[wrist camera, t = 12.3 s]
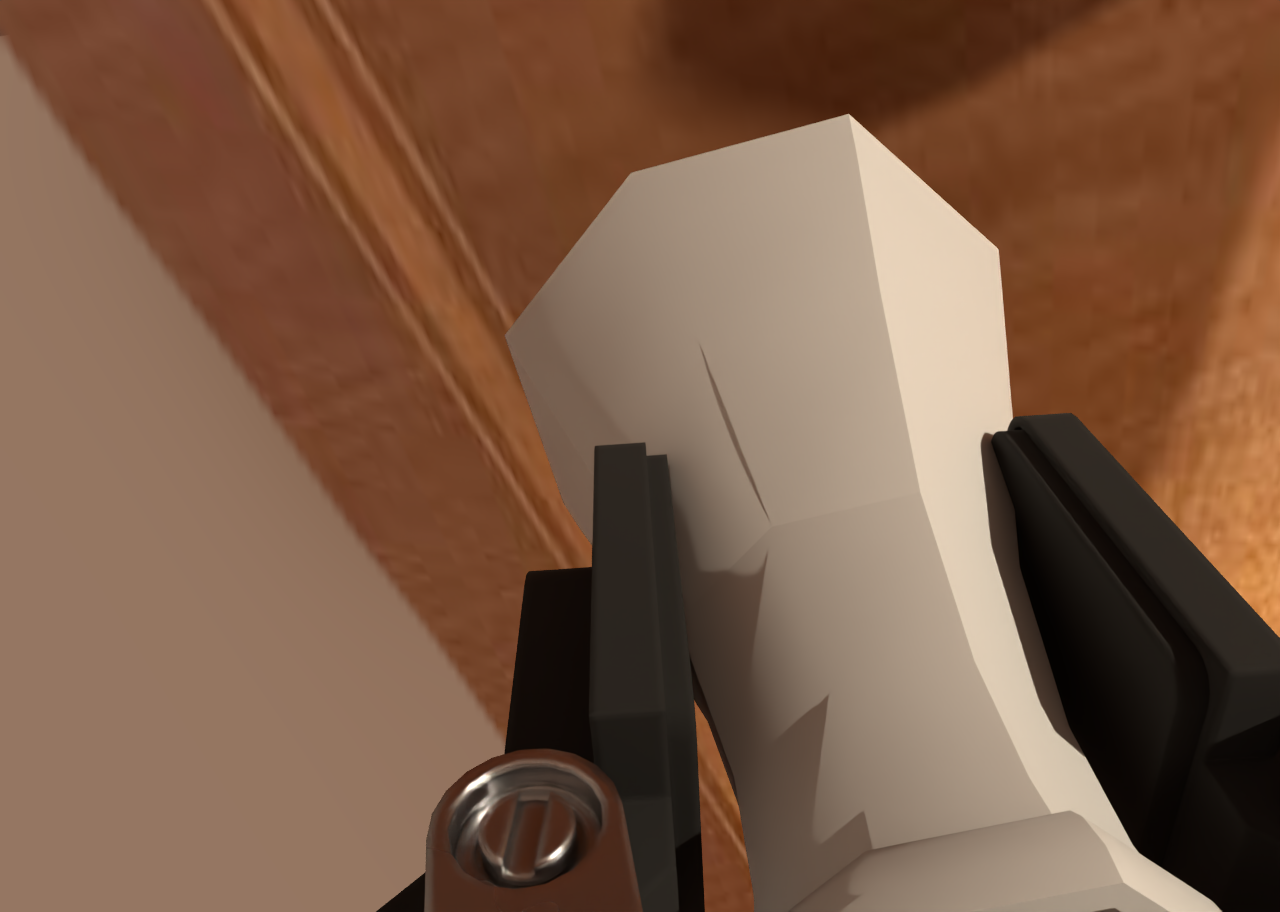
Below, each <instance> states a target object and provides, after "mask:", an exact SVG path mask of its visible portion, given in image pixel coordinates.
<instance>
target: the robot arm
mask: <svg viewBox="0 0 1280 912" xmlns="http://www.w3.org/2000/svg"><path fill="white" fill-rule="evenodd" d="M991 443H992V446H993V449H994V452H995V455H996V458H997V461H998V463H999V466H1000V469H1001V472H1002V475H1003V478H1004V480H1005V483H1006V486H1007V489H1008V492H1009V495H1010V498H1011V500H1012V503H1013V506H1014V509H1015V518H1016V530H1017V541H1018V552H1019V563H1020V569H1021V573H1022V576H1023V579H1024V582H1025V586H1026V589H1027V592H1028V595H1029V599H1030V602H1031V605H1032V608H1033V612H1034V615H1035V618H1036V621H1037V624H1038V628H1039V631H1040V634H1041V637H1042V641H1043V644H1044V647H1045V650H1046V654H1047V657H1048V660H1049V663H1050V667H1051V670H1052V673H1053V676H1054V680H1055V683H1056V686H1057V689H1058V692H1059V696H1060V699H1061V702H1062V705H1063V709H1064V712H1065V715H1066V718H1067V722H1068V725H1069V728H1070V729H1071V731H1072V733H1073V735H1074V737H1075V739H1076V741H1077V742H1078V744H1079V746H1080V748H1081V750H1082V752H1083V754H1084V755H1085V757H1086V759H1087V761H1088V763H1089V765H1090V767H1091V768H1092V770H1093V772H1094V774H1095V776H1096V778H1097V779H1098V781H1099V783H1100V785H1101V787H1102V789H1103V791H1104V792H1105V794H1106V796H1107V798H1108V800H1109V802H1110V804H1111V805H1112V807H1113V809H1114V811H1115V813H1116V815H1117V817H1118V818H1119V820H1120V822H1121V824H1122V826H1123V828H1124V830H1125V831H1126V833H1127V835H1128V837H1129V839H1130V841H1131V843H1132V844H1133V846H1134V847H1135V849H1136V850H1137V851H1138V853H1139V854H1141V855H1143V856H1144V857H1146V858H1147V859H1149V860H1150V861H1152V862H1153V863H1155V864H1156V865H1158V866H1159V867H1161V868H1163V869H1164V870H1166V871H1167V872H1169V873H1170V874H1172V875H1173V876H1175V877H1176V878H1178V879H1179V880H1181V881H1182V882H1184V883H1186V884H1187V885H1189V886H1190V887H1192V888H1193V889H1195V890H1196V891H1198V892H1199V893H1201V894H1202V895H1204V896H1205V897H1207V898H1209V899H1210V900H1212V901H1213V902H1214V903H1215V904H1216V905H1217V906H1218V907H1219V908H1220V909H1221V911H1222V912H1280V638H1279V637H1278V636H1277V635H1276V634H1275V632H1274V631H1273V630H1272V629H1271V628H1270V627H1269V626H1268V625H1267V624H1266V623H1265V622H1264V621H1263V619H1262V618H1261V617H1260V616H1259V615H1258V614H1257V613H1256V612H1255V611H1254V610H1253V609H1252V607H1251V606H1250V605H1249V604H1248V603H1247V602H1246V601H1245V600H1244V599H1243V598H1242V597H1241V595H1240V594H1239V593H1238V592H1237V591H1236V590H1235V589H1234V588H1233V587H1232V586H1231V585H1230V583H1229V582H1228V581H1227V580H1226V579H1225V578H1224V577H1223V576H1222V575H1221V574H1220V573H1219V572H1218V570H1217V569H1216V568H1215V567H1214V566H1213V565H1212V564H1211V563H1210V562H1209V561H1208V560H1207V558H1206V557H1205V556H1204V555H1203V554H1202V553H1201V552H1200V551H1199V550H1198V549H1197V548H1196V546H1195V545H1194V544H1193V543H1192V542H1191V541H1190V540H1189V539H1188V538H1187V537H1186V536H1185V534H1184V533H1183V532H1182V531H1181V530H1180V529H1179V528H1178V527H1177V526H1176V525H1175V524H1174V522H1173V521H1172V520H1171V519H1170V518H1169V517H1168V516H1167V515H1166V514H1165V513H1164V512H1163V511H1162V509H1161V508H1160V507H1159V506H1158V505H1157V504H1156V503H1155V502H1154V501H1153V500H1152V499H1151V497H1150V496H1149V495H1148V494H1147V493H1146V492H1145V491H1144V490H1143V489H1142V488H1141V487H1140V485H1139V484H1138V483H1137V482H1136V481H1135V480H1134V479H1133V478H1132V477H1131V476H1130V475H1129V473H1128V472H1127V471H1126V470H1125V469H1124V468H1123V467H1122V466H1121V465H1120V464H1119V463H1118V462H1117V460H1116V459H1115V458H1114V457H1113V456H1112V455H1111V454H1110V453H1109V452H1108V451H1107V450H1106V448H1105V447H1104V446H1103V445H1102V444H1101V443H1100V442H1099V441H1098V440H1097V439H1096V438H1095V436H1094V435H1093V434H1092V433H1091V432H1090V431H1089V430H1088V429H1087V428H1086V427H1085V426H1084V424H1083V423H1082V422H1081V421H1080V420H1079V419H1078V418H1077V417H1076V416H1074V415H1073V414H1072V413H1063V414H1048V415H1034V416H1019V417H1015V418H1013V419H1012V420H1011V422H1010V424H1009V426H1008V429H1007V431H997V432H996V433H995V434H994V435H993V437H992V440H991ZM376 912H705V908H704V886H703V865H702V843H701V822H700V800H699V779H698V757H697V737H696V721H695V707H694V696H693V685H692V676H691V667H690V658H689V649H688V640H687V631H686V622H685V613H684V604H683V595H682V586H681V577H680V568H679V559H678V550H677V541H676V532H675V523H674V515H673V506H672V497H671V488H670V479H669V470H668V461H667V454H663V455H649V456H646V443H645V442H642V443H628V444H613V445H599V446H595V448H594V491H593V540H592V567H587V568H572V569H558V570H543V571H529V572H528V573H527V575H526V580H525V586H524V594H523V603H522V611H521V619H520V628H519V636H518V644H517V653H516V661H515V670H514V678H513V686H512V695H511V703H510V712H509V720H508V728H507V737H506V745H505V754H504V755H501V756H497V757H494V758H491V759H489V760H487V761H486V762H484V763H482V764H480V765H478V766H476V767H475V768H473V769H471V770H469V771H467V772H466V773H465V774H464V775H463V776H462V777H461V778H460V779H458V781H457V782H455V783H454V784H453V785H452V786H451V787H450V788H449V789H448V790H447V791H446V792H445V794H444V795H443V797H442V799H441V800H440V802H439V803H438V805H437V807H436V808H435V810H434V812H433V813H432V816H431V821H430V825H429V830H428V834H427V840H426V872H425V873H424V874H423V875H422V876H420V877H419V878H418V879H417V880H415V881H414V882H413V883H412V884H410V885H409V886H408V887H406V888H405V889H404V890H403V891H401V892H400V893H399V894H398V895H396V896H395V897H394V898H393V899H391V900H390V901H389V902H388V903H386V904H385V905H384V906H383V907H381V908H380V909H379V910H378V911H376Z"/></svg>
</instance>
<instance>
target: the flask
mask: <svg viewBox="0 0 1280 912" xmlns="http://www.w3.org/2000/svg"><path fill="white" fill-rule="evenodd" d="M505 338H506V341H507V344H508V346H509V349H510V352H511V355H512V358H513V361H514V363H515V366H516V369H517V372H518V375H519V378H520V381H521V383H522V386H523V389H524V392H525V395H526V398H527V400H528V403H529V406H530V409H531V412H532V415H533V417H534V420H535V423H536V426H537V429H538V432H539V434H540V437H541V440H542V443H543V446H544V449H545V452H546V454H547V457H548V460H549V463H550V466H551V469H552V471H553V474H554V477H555V480H556V483H557V486H558V488H559V491H560V494H561V497H562V500H563V503H564V504H565V506H566V507H567V509H568V511H569V512H570V514H571V515H572V517H573V519H574V520H575V522H576V523H577V525H578V526H579V528H580V529H581V531H582V532H583V533H584V535H585V536H586V538H587V539H588V540H589V542H590V543H591V544H592V540H593V491H594V448H595V446H599V445H613V444H628V443H642V442H645V443H646V456H649V455H663V454H667V461H668V470H669V479H670V488H671V497H672V506H673V515H674V523H675V532H676V541H677V550H678V559H679V568H680V577H681V586H682V595H683V604H684V613H685V622H686V631H687V640H688V649H689V658H690V667H691V676H692V685H693V696H694V700H695V702H696V703H697V705H698V707H699V708H700V710H701V711H702V713H703V715H704V716H705V718H706V719H707V721H708V723H709V726H710V729H711V731H712V734H713V737H714V740H715V742H716V745H717V748H718V750H719V753H720V756H721V759H722V761H723V764H724V767H725V769H726V772H727V775H728V778H729V780H730V783H731V786H732V789H733V791H734V794H735V797H736V799H737V802H738V805H739V809H740V815H741V821H742V827H743V833H744V839H745V845H746V851H747V857H748V863H749V869H750V875H751V881H752V887H753V893H754V912H1222V911H1221V909H1220V908H1219V907H1218V906H1217V905H1216V904H1215V903H1214V902H1213V901H1212V900H1210V899H1209V898H1207V897H1205V896H1204V895H1202V894H1201V893H1199V892H1198V891H1196V890H1195V889H1193V888H1192V887H1190V886H1189V885H1187V884H1186V883H1184V882H1182V881H1181V880H1179V879H1178V878H1176V877H1175V876H1173V875H1172V874H1170V873H1169V872H1167V871H1166V870H1164V869H1163V868H1161V867H1159V866H1158V865H1156V864H1155V863H1153V862H1152V861H1150V860H1149V859H1147V858H1146V857H1144V856H1143V855H1141V854H1139V853H1138V851H1137V850H1136V849H1135V847H1134V846H1133V844H1132V843H1131V841H1130V839H1129V837H1128V835H1127V833H1126V831H1125V830H1124V828H1123V826H1122V824H1121V822H1120V820H1119V818H1118V817H1117V815H1116V813H1115V811H1114V809H1113V807H1112V805H1111V804H1110V802H1109V800H1108V798H1107V796H1106V794H1105V792H1104V791H1103V789H1102V787H1101V785H1100V783H1099V781H1098V779H1097V778H1096V776H1095V774H1094V772H1093V770H1092V768H1091V767H1090V765H1089V763H1088V761H1087V759H1086V757H1085V755H1084V754H1083V752H1082V750H1081V748H1080V746H1079V744H1078V742H1077V741H1076V739H1075V737H1074V735H1073V733H1072V731H1071V729H1070V728H1069V725H1068V722H1067V718H1066V715H1065V712H1064V709H1063V705H1062V702H1061V699H1060V696H1059V692H1058V689H1057V686H1056V683H1055V680H1054V676H1053V673H1052V670H1051V667H1050V663H1049V660H1048V657H1047V654H1046V650H1045V647H1044V644H1043V641H1042V637H1041V634H1040V631H1039V628H1038V624H1037V621H1036V618H1035V615H1034V612H1033V608H1032V605H1031V602H1030V599H1029V595H1028V592H1027V589H1026V586H1025V582H1024V579H1023V576H1022V573H1021V569H1020V563H1019V552H1018V541H1017V530H1016V518H1015V509H1014V506H1013V503H1012V500H1011V498H1010V495H1009V492H1008V489H1007V486H1006V483H1005V480H1004V478H1003V475H1002V472H1001V469H1000V466H999V463H998V461H997V458H996V455H995V452H994V449H993V446H992V443H991V440H992V437H993V435H994V434H995V433H996V432H997V431H1007V429H1008V426H1009V424H1010V422H1011V420H1012V419H1013V416H1012V404H1011V392H1010V380H1009V368H1008V356H1007V344H1006V332H1005V320H1004V308H1003V296H1002V284H1001V273H1000V261H999V250H998V248H996V247H995V246H994V245H993V244H992V243H991V242H990V241H989V240H988V239H986V238H985V237H984V236H983V235H982V234H981V233H980V232H979V231H978V230H977V229H975V228H974V227H973V226H972V225H971V224H970V223H969V222H968V221H967V220H965V219H964V218H963V217H962V216H961V215H960V214H959V213H958V212H957V211H956V210H954V209H953V208H952V207H951V206H950V205H949V204H948V203H947V202H946V201H944V200H943V199H942V198H941V197H940V196H939V195H938V194H937V193H936V192H934V191H933V190H932V189H931V188H930V187H929V186H928V185H927V184H926V183H925V182H923V181H922V180H921V179H920V178H919V177H918V176H917V175H916V174H915V173H913V172H912V171H911V170H910V169H909V168H908V167H907V166H906V165H905V164H904V163H902V162H901V161H900V160H899V159H898V158H897V157H896V156H895V155H894V154H892V153H891V152H890V151H889V150H888V149H887V148H886V147H885V146H884V145H883V144H881V143H880V142H879V141H878V140H877V139H876V138H875V137H874V136H873V135H871V134H870V133H869V132H868V131H867V130H866V129H865V128H864V127H863V126H862V125H860V124H859V123H858V122H857V121H856V120H855V119H854V118H853V117H852V116H850V115H849V114H847V115H843V116H840V117H836V118H832V119H829V120H825V121H821V122H817V123H814V124H810V125H806V126H803V127H799V128H795V129H792V130H788V131H784V132H781V133H777V134H773V135H769V136H766V137H762V138H758V139H755V140H751V141H747V142H744V143H740V144H736V145H733V146H729V147H725V148H721V149H718V150H714V151H710V152H707V153H703V154H699V155H696V156H692V157H688V158H685V159H681V160H677V161H673V162H670V163H666V164H662V165H659V166H655V167H651V168H648V169H644V170H640V171H637V172H633V173H631V174H630V175H629V176H628V178H627V179H626V180H625V181H624V183H623V184H622V185H621V187H620V188H619V189H618V190H617V192H616V193H615V194H614V196H613V197H612V198H611V199H610V201H609V202H608V203H607V205H606V206H605V207H604V208H603V210H602V211H601V212H600V214H599V215H598V216H597V217H596V219H595V220H594V221H593V223H592V224H591V225H590V226H589V228H588V229H587V230H586V232H585V233H584V234H583V235H582V237H581V238H580V239H579V241H578V242H577V243H576V244H575V246H574V247H573V248H572V250H571V251H570V252H569V253H568V255H567V256H566V257H565V259H564V260H563V261H562V262H561V264H560V265H559V266H558V268H557V269H556V270H555V271H554V273H553V274H552V275H551V277H550V278H549V279H548V280H547V282H546V283H545V284H544V286H543V287H542V288H541V289H540V291H539V292H538V293H537V295H536V296H535V297H534V298H533V300H532V301H531V302H530V304H529V305H528V306H527V307H526V309H525V310H524V311H523V313H522V314H521V315H520V316H519V318H518V319H517V320H516V322H515V323H514V324H513V325H512V327H511V328H510V329H509V331H508V332H507V333H506V334H505Z"/></svg>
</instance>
